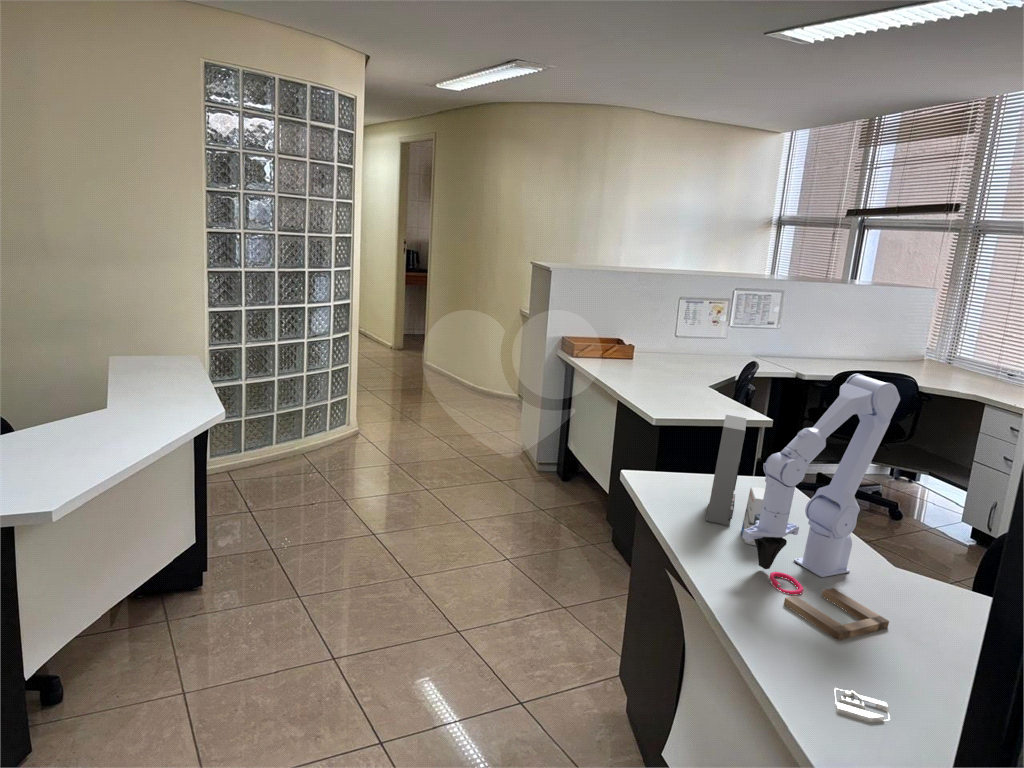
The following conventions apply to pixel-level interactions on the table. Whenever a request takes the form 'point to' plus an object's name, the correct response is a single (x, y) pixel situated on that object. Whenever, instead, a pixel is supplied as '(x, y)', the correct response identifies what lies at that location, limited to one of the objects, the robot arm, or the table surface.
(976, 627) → the table surface
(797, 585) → the fitness band
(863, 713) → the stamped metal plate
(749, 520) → the ink box
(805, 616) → the notched board
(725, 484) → the tall grey pillar
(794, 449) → the robot arm
